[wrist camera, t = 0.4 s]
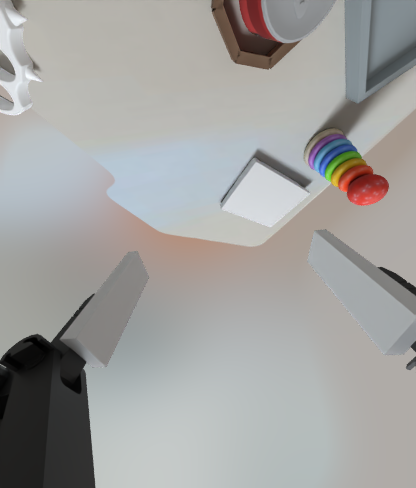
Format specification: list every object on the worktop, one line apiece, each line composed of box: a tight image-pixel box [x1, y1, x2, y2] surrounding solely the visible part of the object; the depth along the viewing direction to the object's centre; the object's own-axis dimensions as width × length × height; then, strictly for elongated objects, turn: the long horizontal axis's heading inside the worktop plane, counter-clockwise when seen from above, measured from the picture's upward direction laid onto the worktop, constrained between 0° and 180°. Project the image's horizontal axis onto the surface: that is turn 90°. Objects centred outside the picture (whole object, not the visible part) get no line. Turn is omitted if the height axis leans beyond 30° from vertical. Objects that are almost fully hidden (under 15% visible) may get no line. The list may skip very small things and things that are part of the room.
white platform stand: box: [220, 157, 310, 228], centre depth 46 cm, size 15×3×20 cm
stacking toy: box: [304, 128, 389, 205], centre depth 32 cm, size 8×8×19 cm
